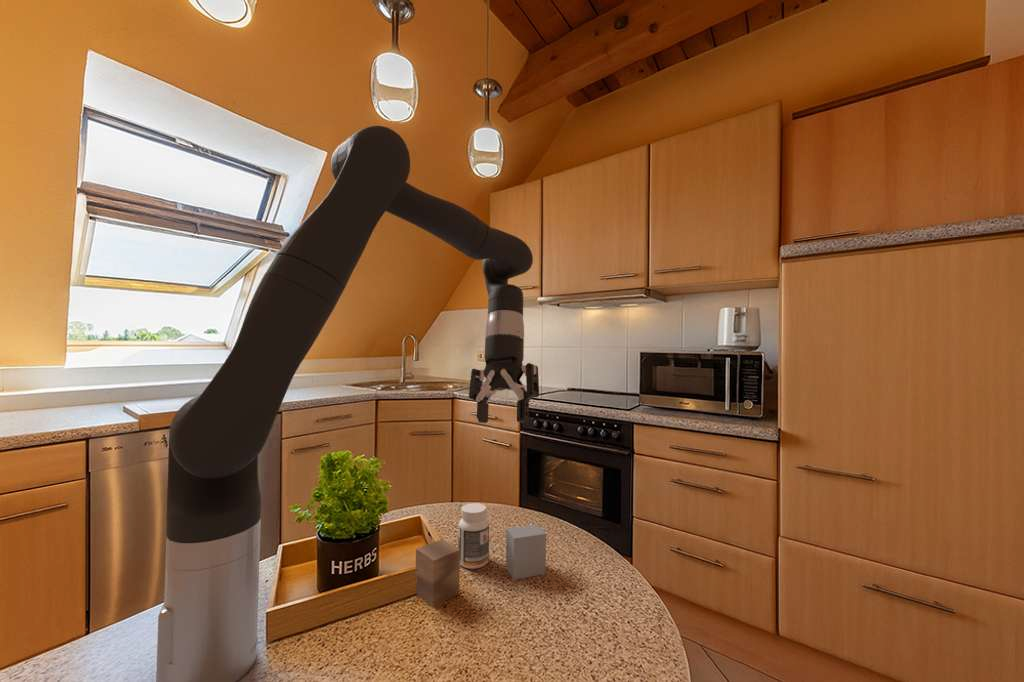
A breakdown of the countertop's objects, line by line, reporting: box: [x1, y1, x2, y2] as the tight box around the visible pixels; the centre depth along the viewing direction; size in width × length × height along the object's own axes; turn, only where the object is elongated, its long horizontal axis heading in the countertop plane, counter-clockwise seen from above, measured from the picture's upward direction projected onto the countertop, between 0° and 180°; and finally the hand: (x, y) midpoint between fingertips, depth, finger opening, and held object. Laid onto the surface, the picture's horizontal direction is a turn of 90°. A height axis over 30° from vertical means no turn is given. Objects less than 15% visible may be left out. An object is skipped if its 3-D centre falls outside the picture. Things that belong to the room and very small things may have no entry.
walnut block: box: [415, 538, 461, 608], centre depth 65 cm, size 5×5×7 cm
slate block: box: [505, 524, 547, 581], centre depth 72 cm, size 6×4×7 cm, turn 110°
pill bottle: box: [457, 502, 490, 570], centre depth 74 cm, size 6×6×10 cm
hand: (501, 422), depth 74 cm, fingers open, 8 cm apart
